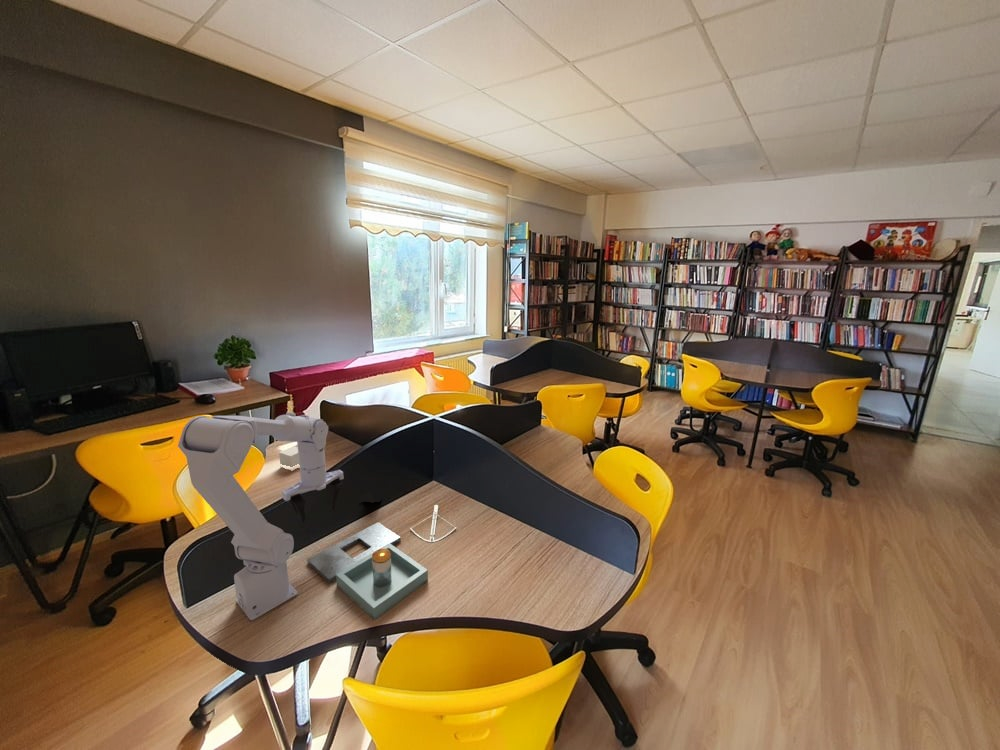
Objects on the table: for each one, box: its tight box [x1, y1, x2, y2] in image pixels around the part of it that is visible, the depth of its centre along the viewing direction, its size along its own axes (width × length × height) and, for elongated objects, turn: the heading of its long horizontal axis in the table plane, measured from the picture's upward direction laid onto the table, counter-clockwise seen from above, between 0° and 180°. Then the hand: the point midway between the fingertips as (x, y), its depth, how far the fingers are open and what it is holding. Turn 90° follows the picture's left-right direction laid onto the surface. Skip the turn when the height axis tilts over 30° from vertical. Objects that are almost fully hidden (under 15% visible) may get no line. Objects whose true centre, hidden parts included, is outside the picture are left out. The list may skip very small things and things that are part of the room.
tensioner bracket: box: [306, 521, 402, 584], centre depth 102 cm, size 20×10×1 cm, turn 141°
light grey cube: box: [278, 445, 299, 467], centre depth 144 cm, size 6×6×6 cm
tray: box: [335, 543, 429, 621], centre depth 92 cm, size 14×14×3 cm
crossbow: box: [409, 504, 457, 543], centre depth 115 cm, size 16×13×2 cm
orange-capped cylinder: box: [372, 549, 392, 587], centre depth 92 cm, size 4×4×7 cm
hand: (316, 514), depth 102 cm, fingers open, 7 cm apart
